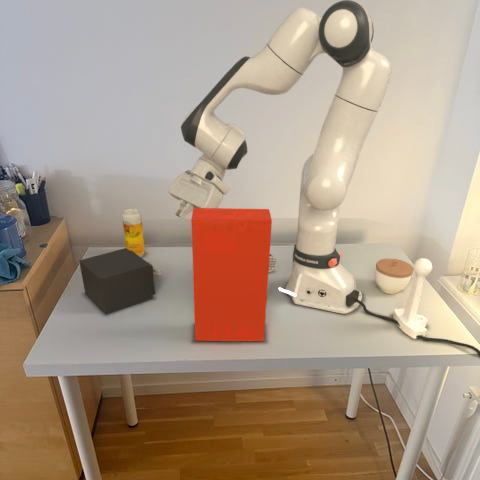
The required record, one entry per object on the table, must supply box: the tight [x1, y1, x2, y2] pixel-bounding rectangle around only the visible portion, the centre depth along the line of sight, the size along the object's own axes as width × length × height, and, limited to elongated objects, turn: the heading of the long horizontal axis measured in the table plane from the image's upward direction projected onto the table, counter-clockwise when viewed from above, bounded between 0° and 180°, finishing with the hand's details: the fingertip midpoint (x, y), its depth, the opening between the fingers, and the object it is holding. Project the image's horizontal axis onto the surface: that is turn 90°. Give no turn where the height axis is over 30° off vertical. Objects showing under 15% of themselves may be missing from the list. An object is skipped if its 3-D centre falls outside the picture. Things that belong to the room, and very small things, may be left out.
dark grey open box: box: [78, 247, 153, 315], centre depth 131 cm, size 14×14×11 cm
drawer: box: [131, 251, 163, 295], centre depth 133 cm, size 17×13×9 cm
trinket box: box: [374, 258, 414, 295], centre depth 139 cm, size 11×11×9 cm
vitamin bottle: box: [121, 208, 146, 257], centre depth 153 cm, size 6×6×15 cm
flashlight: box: [268, 253, 278, 273], centre depth 153 cm, size 15×5×5 cm, turn 25°
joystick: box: [392, 257, 433, 339], centre depth 119 cm, size 11×8×20 cm
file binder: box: [190, 207, 273, 342], centre depth 111 cm, size 8×17×32 cm, turn 92°
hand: (178, 216), depth 134 cm, fingers closed
